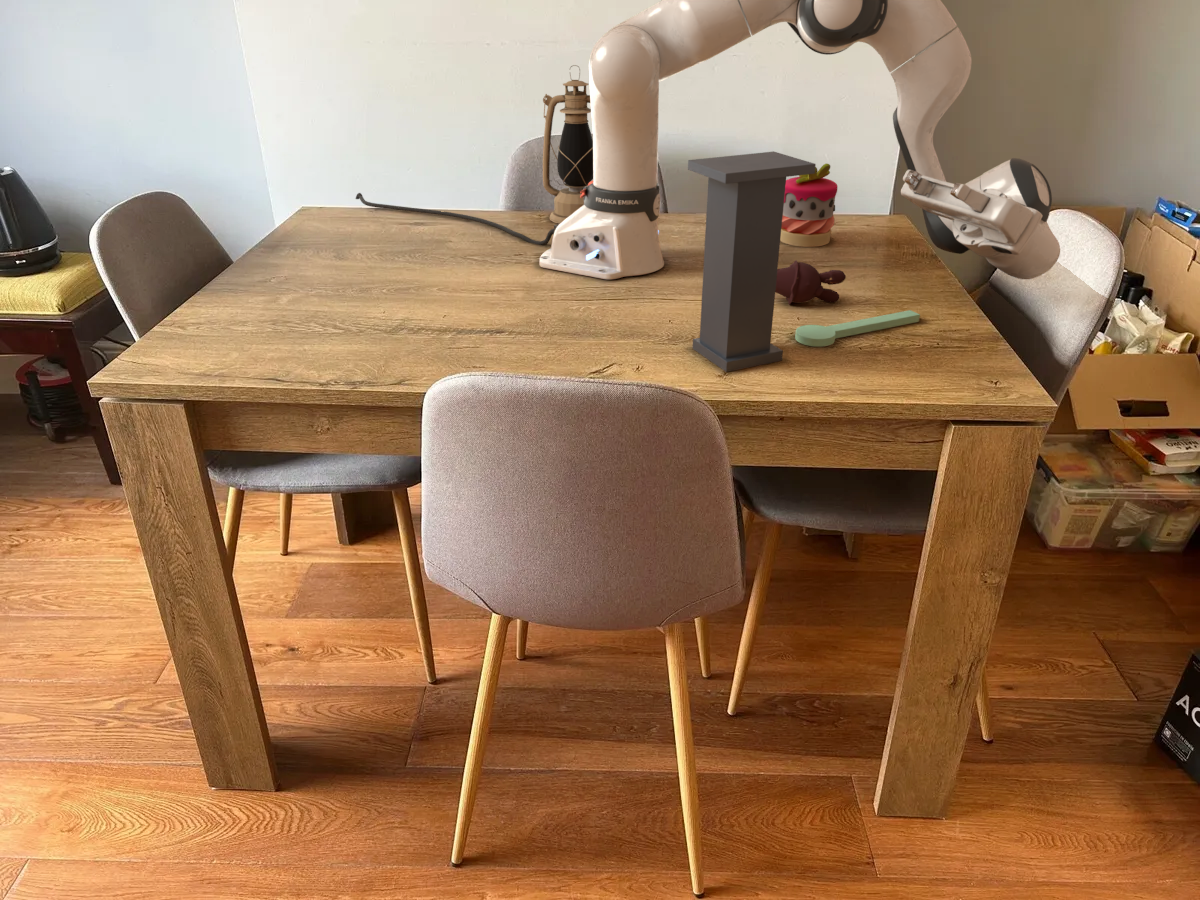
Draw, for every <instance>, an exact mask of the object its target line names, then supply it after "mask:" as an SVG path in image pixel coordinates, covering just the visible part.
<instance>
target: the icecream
mask: <svg viewBox="0 0 1200 900" xmlns="http://www.w3.org/2000/svg"><path fill="white" fill-rule="evenodd" d="M846 279H847V276H846V274H845V272H844V271H842V270H840V269H830V270H828V271H824V272H819V271H818V269H817V268H816V267H815V266H814V265H813V266H812V265H811V264H809V263H806V262H802V261H797V259H796V260H794V261H793V263H791V264H789V266H785V267H782V268H778V269H777V280H776V290H775V294H778V295H780V296H782V297H784V298H785V300H786V301H787V304H788V305H791V304H792V303H794V304H803V303H807V302H809V301H812V300H813V299H815V298H816V299H817V300H820V301H821V302H824V303H831V304H833V303H836V302H838V301H840V294H839V293H838V291H836V290H833V289H831V288H824V286H823V285H822V284H824V285H825V284H827V285H828V286H831V285H838V284H841V283H843V282H844V281H846Z"/></svg>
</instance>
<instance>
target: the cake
mask: <svg viewBox="0 0 1200 900" xmlns="http://www.w3.org/2000/svg"><path fill="white" fill-rule="evenodd" d="M830 169H831V164H830V163H828V162H827V163H824V164H823V165H821V167H820V168H819V169H818V167H816V166H815V173H814V174H806V175H798V176H795V177H790V178H788V179H786V186H785V196H784V207H783V217H782V227H781V238H780V243H783V244H786V245H790V246H794V247H803V248H804V247H807V248H812V247H821V246H825V245H828V244H829V243H830V241H831V234H832V228H833V226H835V215H834V212H836V204H835V203H836V202H835V201H836V196H837V193H838V188H839V187H838V184H837V182H835V181H834V180H831V179H829V178H826V177H827V176H828V175H830V173H831V171H830Z"/></svg>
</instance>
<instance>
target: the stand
mask: <svg viewBox="0 0 1200 900" xmlns="http://www.w3.org/2000/svg"><path fill="white" fill-rule="evenodd" d="M816 165H817V164H816V163H814V162H811V161H807V160H805V159H801V158H798V157H793V156H791V155H788V154H783V153H780V152H778V151H773V150H772V151H765V152H755V153H746V154H736V155H735V154H734V155H725V156H717V157H716V156H715V157H706V158H694V159H688V160H687V170H688V171H690V172H693V173H696V174H699V175H701V176H703V177H706V178H707V197H706V213H705V214H706V216H705V230H704V231H705V233H704V252H703V268H702V269H703V270H702V288H701V309H700V324H699V337H697V338H692V350H693V351H695V352H697V353H698V354H699V355H701V356H702V357H704V358H705V359H707V360H708V361H710V362H711V363H712V364H713V365H715V366H717V367H718V368H720V370H723V371H724V372H726V373H729V372H733V371H737V370H738V371H739V370H743V369H747V368H754V367H757V366H763V365H767V364H772V363H777V362H781V361H783V356H784V355H783V354H784V350H783V349H781V348H779V347H778V346H776V345H774V344H773V343H771V341H772V331H773V321H774V310H775V299H776V292H775V290H776V280H777V269H779V258H780V247H781V241H780V238H781V227H782V217H783V207H784V196H785V186H786V180H787V177H788V178H789V177H794V176H795V177H799V175H806V174H814V173H815V167H816Z"/></svg>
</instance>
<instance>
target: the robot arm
mask: <svg viewBox="0 0 1200 900" xmlns="http://www.w3.org/2000/svg"><path fill="white" fill-rule="evenodd" d="M779 23H786V24H788V26H789V27H790V28H791V29H792V30H793V32H794V33H795V34H796V35H797V37H798V38H799V40H800V41H801V42H802V43H803V44H804V45H805V46H806V47H807V48H808V49H810V50H811V51H813V52H815V53H817V54H820V55H827V56H828V55H835V54H840V53H842V52H843V51H846V50H847V49H849V48H850V47H851V46H853V45H854V44H856V43H858V42H859V43H864V44H867V45H869V46H870V47H871V48H873V49H874V51H876V53H877V54H878V55H879V56H880V57H881V59H882V61H883V63H884V64H885V66H886V69H887V70H888V72H889V73H890V77H891V78H892V80H893V83H894V86H895V89H896V95H897V105H896V108H895V109H894V111H893V113H892V124H893V129H894V132H895V137H896V140H897V144H898V146H899V149H900V152H901V154H902V157H903V160H904V163H905V167H906V168H907V170H906V171H905V173H904V175H903V176H902V181H903V182H904V183H903V185H902V187H901V189H900V195H901V196H902V197H903V198H904V199H906V200H907V201H909V202H910V203H912V204H914V205H915V206H917V207H918V208H920V209H921V211H922V215H923V219H924V224H925V227H926V231H927V234H928V237H929V238H930V240H931V242H932V243H933V245H934V246H935V247H937V248H938V249H940V250H942V251H944V252H948V253H952V254H959V255H962V254H964V253H967V252H968V251H971V252H973V253H974V254H976V255H977V256H980V257H982V258H985V260H986V261H987V262H988V263H989V264H990V265H992V266H993V267H995V268H996V269H998V271H1001V272H1002V273H1004V274H1006V275H1008V276H1011V277H1012V278H1015V279H1018V280H1032V279H1036V278H1038V277H1041V276H1042V275H1044V274H1046V273H1047V272H1049V271H1050V270H1051V269H1052V268H1053V267H1054V266H1055V264H1057V261H1058V260H1059V258H1060V255H1061V245H1060V243H1059V240H1058V239H1057V237H1056V236H1055V234H1054V232H1053V231H1052V229H1051V228H1050V226H1049V223H1048V219H1049V217H1050V213H1051V208H1052V203H1053V202H1052V201H1053V197H1052V196H1053V195H1052V190H1051V187H1050V183H1049V181H1048V180H1047V178H1046V176H1045V174H1044V173H1043V172H1042V171H1041V170H1040V169H1039V168H1038V167H1037V166H1036V165H1035V164H1034V163H1031V162H1030V161H1028V160H1025V159H1022V158H1016V157H1012V158H1010V159H1008V160H1005V161H1004V162H1002V163H999V164H998V165H996V166H994V167H992V168H990V169H988V170H987V171H985V172H983V173H982V174H981V175H978V176H977V177H975V178H974V179H971V180H969V181H968V182H966V183H961V182H955V183H953V182H949V181H947V180H946V176H945V174H944V171H943V169H942V165H941V163H940V161H939V158H938V154H937V151H936V149H935V146H934V133H935V129H936V127H937V125H938V123H939V122H940V120H941V118H943V116H944V115H945V113H946V112H947V111H948V110H949V108H950V107H951V106H952V105H953V103H955V101H956V100H957V98H958V97H959V95H961V93H962V91H963V90H964V88H965V86H966V84H967V82H968V80H969V77H970V74H971V70H972V54H971V51H970V48H969V45H968V43H967V41H966V39H965V37H964V34H963V33H962V31H961V29H960V28H959V27H958V24H957V23H956V21H955V20H954V18H953V16H952V14H951V13H950V12H949V10H948V9H947V7H946V5H945V4H944V3H943V1H942V0H660V1H658V2H656V3H654V4H652V5H650V6H649V7H647V8H645V9H643V10H642V11H639V12H638V13H636V14H634V15H632V16H630V17H629V18H627V19H625V20H623V21H622V22H619V23H618V24H616V25H615V26H613V27H611V28H610V29H608V31H607V32H605V33H604V34H603V35H602V36H601V37H600V38H599V39H598V40H597V42H595V44H594V45H593V47H592V48H591V52H590V55H589V60H588V77H589V81H588V82H589V95H590V103H589V104H590V109H591V112H590V119H591V129H592V130H591V132H592V140H593V180H592V181H591V182H589V184H588V186H586V187H585V188H583V191H581V192H580V193H582V194H581V196H580V198H583V200H584V205H583V206H582V207H580V208H579V209H578V210H576V211H575V212H574V213H573V214H571V215H570V216H569V217H568V218H566V219H565V220H564V221H563V222H562V223H560V224H559V223H557V224H554V225H553V228H551V229H549V231H548V232H547V234H546V237H545V239H543V240H539V241H538V240H535V239H532V238H530V237H529V236H527V235H524V234H523V233H520V232H517V231H515V230H512V229H511V228H508V227H506V226H504V225H502V224H499V223H496V222H494V221H491V220H488V219H484V218H480V217H476V216H472V215H467V214H462V213H458V212H457V213H456V212H450V211H444V212H441V211H442V210H435V209H427V208H420V207H411V206H410V207H409V206H401V205H392V204H386V203H385V204H384V203H375V202H371V201H367V200H365V198H364V196H363V194H362V193H361V192H358V193H357V194H356V196H355V200H359V201H360V202H361V203H362V204H363V205H365V206H366V207H371V208H377V209H386V210H396V211H403V212H410V213H411V212H413V213H420V214H428V215H435V216H436V215H438V216H445V217H451V218H457V219H463V220H467V221H472V222H477V223H480V224H483V225H487V226H490V227H494V228H496V229H498V230H501V231H503V232H505V233H507V234H509V235H511V236H513V237H516V238H518V239H521V240H523V241H525V242H527V243H529V244H533V245H537V246H545V245H548V244H549V242H550V241H551V247H550V248H548V249H547V250H545V251H544V252H542V254H541V255H540V256H539V263H538V264H539V267H541V268H542V269H543V268H544V269H549V270H554V271H558V272H559V271H560V272H565V273H570V274H574V275H580V276H585V277H591V278H596V279H602V280H616V279H620V278H623V277H633V276H642V275H648V274H651V273H654V272H658V271H659V270H661V269H662V268H663V267H664V266H665V261H664V257H663V253H662V248H661V242H660V234H659V233H660V230H659V224H658V223H659V222H658V218H659V217H660V216H659V215H660V210H661V194H660V184H659V183H658V170H659V169H658V167H659V166H658V164H659V109H660V107H659V103H660V100H659V98H660V83H661V82H663V81H665V80H667V79H669V78H671V77H673V76H675V75H677V74H679V73H681V72H684V71H685V70H688V69H690V68H692V67H695V66H696V65H699V64H702V63H704V62H707V61H708V60H710V59H712V58H713V57H715V56H718V55H720V54H721V53H724V52H725V51H727V50H728V49H729V50H730V48H732V47H734V46H736V45H737V44H740V43H742V42H744V41H745V40H747V39H750V38H751V37H752V36H755V35H756V34H758V33H761V32H762V31H763V30H765V29H767V28H769V27H772V26H774V25H776V24H779ZM551 238H552V240H551Z"/></svg>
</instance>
